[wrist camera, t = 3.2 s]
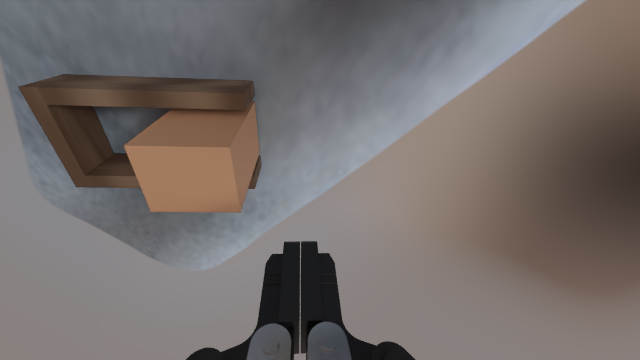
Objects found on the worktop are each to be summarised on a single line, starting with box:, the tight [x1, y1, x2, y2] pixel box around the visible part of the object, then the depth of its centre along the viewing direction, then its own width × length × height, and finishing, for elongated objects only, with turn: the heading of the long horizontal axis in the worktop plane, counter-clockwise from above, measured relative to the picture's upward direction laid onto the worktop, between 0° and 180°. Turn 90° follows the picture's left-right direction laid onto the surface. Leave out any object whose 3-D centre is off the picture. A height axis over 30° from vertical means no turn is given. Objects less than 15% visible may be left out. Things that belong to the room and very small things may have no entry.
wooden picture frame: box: [18, 74, 261, 189], centre depth 22 cm, size 15×8×4 cm, turn 88°
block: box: [124, 101, 259, 212], centre depth 20 cm, size 6×5×9 cm
